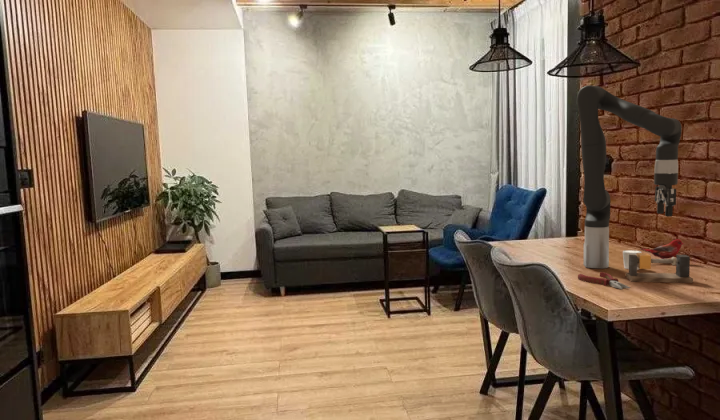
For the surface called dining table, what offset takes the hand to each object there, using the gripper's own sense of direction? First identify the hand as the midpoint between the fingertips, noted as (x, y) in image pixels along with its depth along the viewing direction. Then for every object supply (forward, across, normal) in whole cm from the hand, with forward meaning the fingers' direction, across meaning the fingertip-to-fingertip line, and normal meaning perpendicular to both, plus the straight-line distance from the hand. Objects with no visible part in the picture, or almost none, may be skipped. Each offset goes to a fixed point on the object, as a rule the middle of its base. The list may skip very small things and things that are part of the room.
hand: (664, 215), depth 184 cm
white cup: (+24, -13, -7) cm, 28 cm away
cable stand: (+24, +6, -3) cm, 24 cm away
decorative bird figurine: (+24, -25, +8) cm, 36 cm away
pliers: (+24, +13, -24) cm, 37 cm away
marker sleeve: (+19, +6, -8) cm, 22 cm away
